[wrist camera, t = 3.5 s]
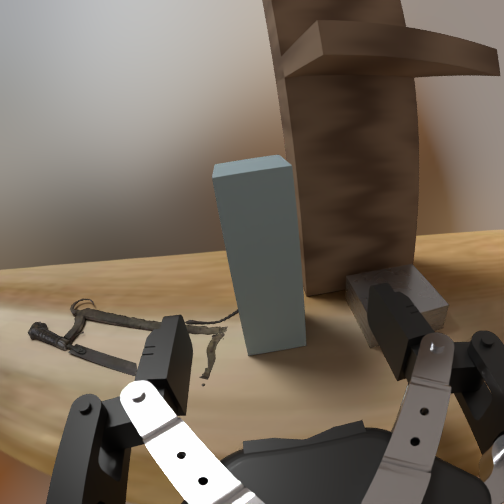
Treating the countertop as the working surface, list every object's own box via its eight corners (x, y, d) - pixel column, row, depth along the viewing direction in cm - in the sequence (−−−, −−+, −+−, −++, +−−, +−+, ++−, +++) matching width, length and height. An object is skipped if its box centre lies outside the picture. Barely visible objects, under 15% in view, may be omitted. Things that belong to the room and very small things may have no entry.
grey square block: (369, 351, 19) (373, 324, 18) (345, 301, 24) (345, 275, 23) (441, 331, 19) (448, 304, 18) (408, 288, 24) (411, 263, 23)
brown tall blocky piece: (335, 379, 17) (279, -118, 5) (297, 272, 29) (257, -25, 17) (466, 340, 17) (456, -78, 5) (393, 255, 29) (370, -21, 17)
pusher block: (248, 355, 20) (212, 178, 15) (244, 319, 24) (214, 164, 18) (306, 345, 20) (292, 165, 15) (295, 311, 24) (278, 154, 18)
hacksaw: (28, 340, 24) (21, 329, 24) (84, 288, 33) (80, 277, 32) (249, 408, 17) (245, 394, 16) (285, 306, 25) (284, 292, 25)
